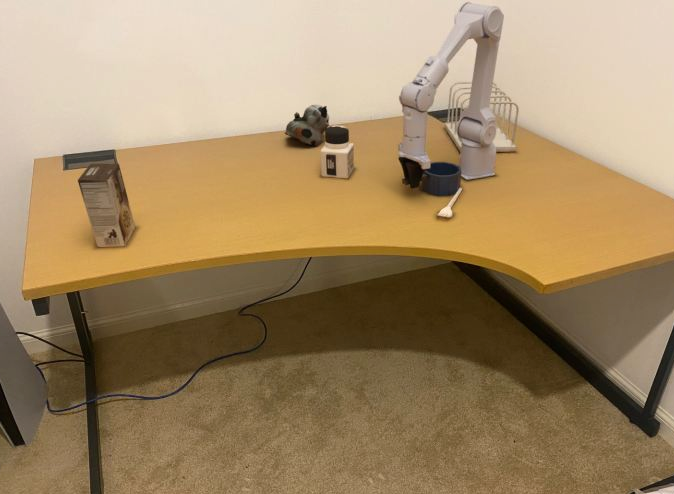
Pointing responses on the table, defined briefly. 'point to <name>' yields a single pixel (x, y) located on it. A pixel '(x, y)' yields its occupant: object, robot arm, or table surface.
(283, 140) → the table surface
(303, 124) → the lucky cat figurine
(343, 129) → the container
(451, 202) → the fork
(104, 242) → the coffee box
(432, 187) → the pot
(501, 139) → the file sorter
